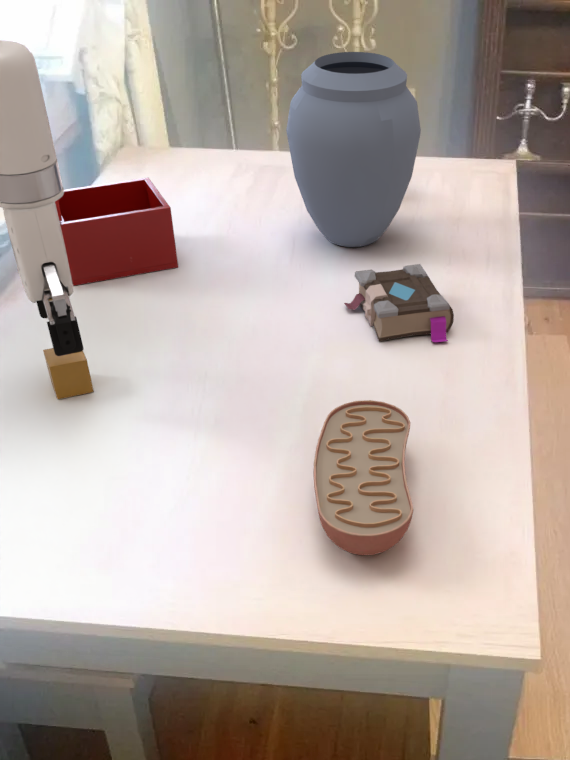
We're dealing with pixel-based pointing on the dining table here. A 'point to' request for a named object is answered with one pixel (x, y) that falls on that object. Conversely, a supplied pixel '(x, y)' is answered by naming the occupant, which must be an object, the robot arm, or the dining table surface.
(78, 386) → the brass block
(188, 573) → the dining table surface
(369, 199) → the vase
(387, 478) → the anatomical model
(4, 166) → the robot arm
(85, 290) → the dining table surface
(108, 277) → the red open box
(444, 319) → the book
